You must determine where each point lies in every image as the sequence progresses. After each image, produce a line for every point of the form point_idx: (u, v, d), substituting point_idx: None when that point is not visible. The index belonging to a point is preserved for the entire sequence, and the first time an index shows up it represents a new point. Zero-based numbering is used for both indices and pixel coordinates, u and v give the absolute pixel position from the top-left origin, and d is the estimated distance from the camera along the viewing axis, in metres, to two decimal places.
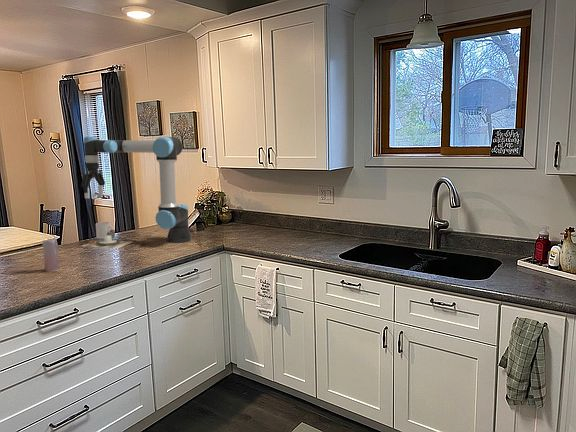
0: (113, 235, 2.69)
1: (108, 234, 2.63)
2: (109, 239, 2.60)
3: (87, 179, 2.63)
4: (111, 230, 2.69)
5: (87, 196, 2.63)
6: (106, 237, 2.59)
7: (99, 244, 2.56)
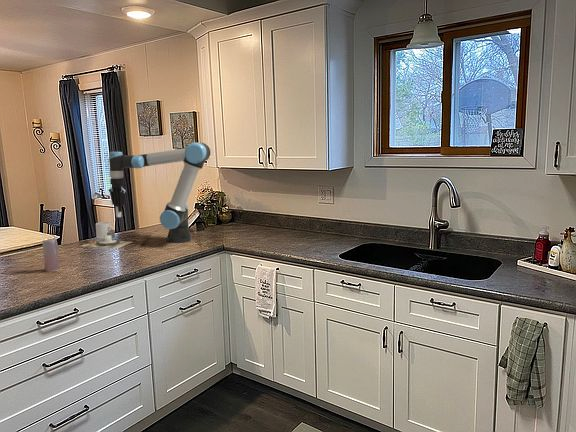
0: (113, 235, 2.69)
1: (108, 234, 2.63)
2: (109, 239, 2.60)
3: None
4: (111, 230, 2.69)
5: None
6: (106, 237, 2.59)
7: (99, 244, 2.56)
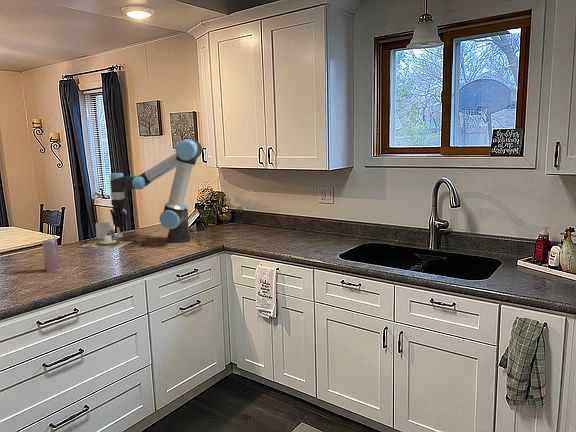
0: (113, 235, 2.69)
1: (108, 234, 2.63)
2: (109, 239, 2.60)
3: None
4: (111, 230, 2.69)
5: None
6: (106, 237, 2.59)
7: (99, 244, 2.56)
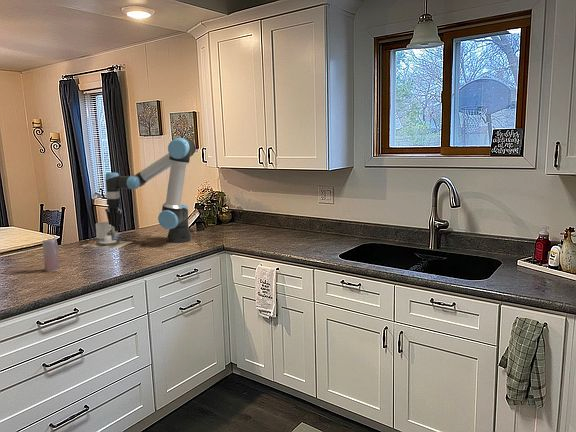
0: None
1: (108, 234, 2.63)
2: (109, 239, 2.60)
3: None
4: (111, 230, 2.69)
5: None
6: (106, 237, 2.59)
7: (99, 244, 2.56)
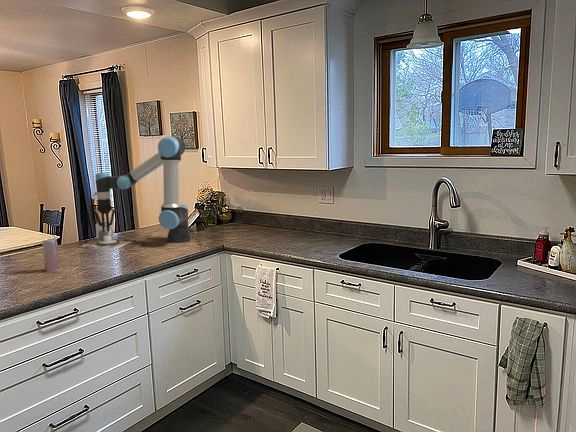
0: None
1: (105, 234, 2.62)
2: (111, 238, 2.61)
3: None
4: (101, 231, 2.66)
5: None
6: (109, 237, 2.60)
7: (99, 244, 2.56)
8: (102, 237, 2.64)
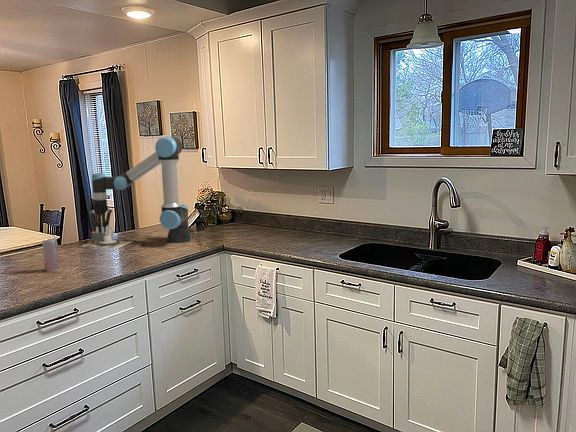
0: None
1: (104, 235, 2.61)
2: None
3: (98, 218, 2.63)
4: (95, 232, 2.62)
5: None
6: (110, 236, 2.61)
7: (99, 244, 2.56)
8: (99, 238, 2.61)
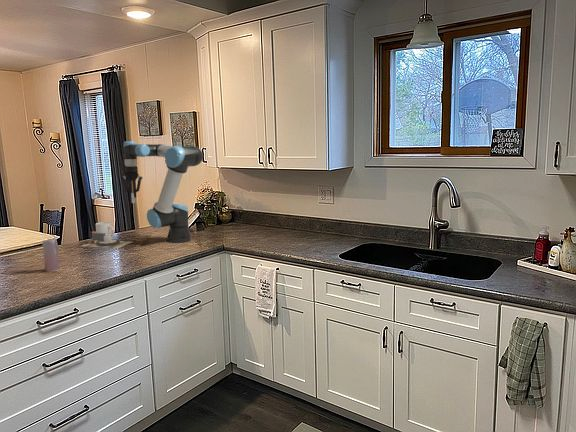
0: None
1: (104, 235, 2.61)
2: None
3: (129, 184, 2.79)
4: (95, 232, 2.62)
5: None
6: (110, 236, 2.61)
7: (99, 244, 2.56)
8: (99, 238, 2.61)
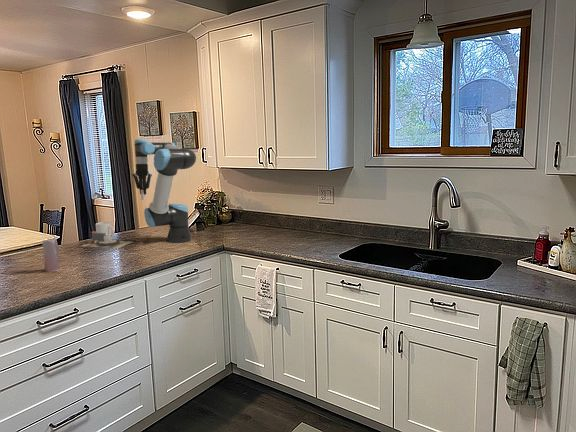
0: None
1: (104, 235, 2.61)
2: None
3: None
4: (95, 232, 2.62)
5: None
6: (110, 236, 2.61)
7: (99, 244, 2.56)
8: (99, 238, 2.61)
